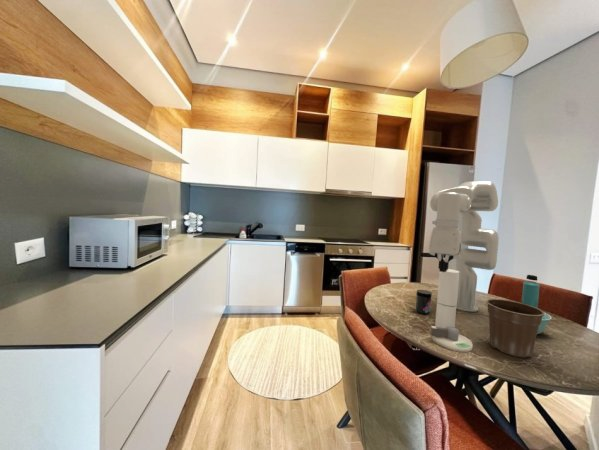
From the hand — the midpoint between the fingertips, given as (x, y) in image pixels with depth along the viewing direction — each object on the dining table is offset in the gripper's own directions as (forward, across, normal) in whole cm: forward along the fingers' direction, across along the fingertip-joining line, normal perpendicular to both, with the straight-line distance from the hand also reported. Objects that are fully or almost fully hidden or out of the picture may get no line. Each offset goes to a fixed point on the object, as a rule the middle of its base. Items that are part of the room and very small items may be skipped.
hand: (442, 271), depth 98 cm
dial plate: (+26, +5, 0) cm, 27 cm away
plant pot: (+26, +21, +12) cm, 36 cm away
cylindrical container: (+26, -1, +11) cm, 29 cm away
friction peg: (+24, +3, -2) cm, 25 cm away
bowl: (+26, +22, +39) cm, 52 cm away
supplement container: (+26, -14, +21) cm, 36 cm away
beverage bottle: (+26, +21, +67) cm, 75 cm away
